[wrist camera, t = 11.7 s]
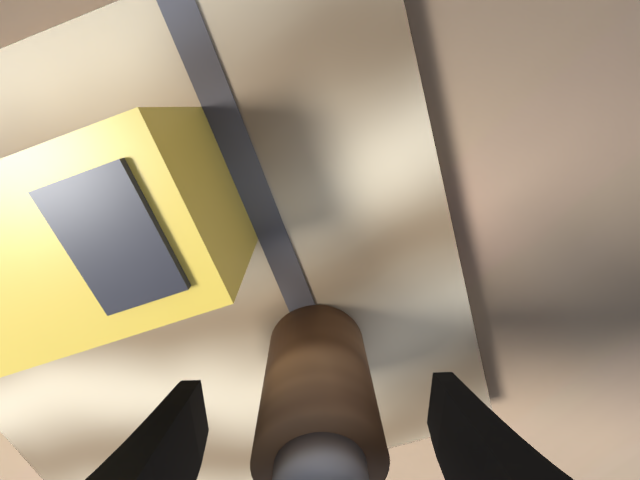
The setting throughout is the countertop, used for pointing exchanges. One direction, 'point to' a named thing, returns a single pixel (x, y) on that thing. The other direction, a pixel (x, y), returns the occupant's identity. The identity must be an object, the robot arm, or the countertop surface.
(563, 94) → the countertop surface
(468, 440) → the robot arm
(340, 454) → the bottle
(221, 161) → the block
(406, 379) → the cream striped towel
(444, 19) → the countertop surface
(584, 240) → the countertop surface
